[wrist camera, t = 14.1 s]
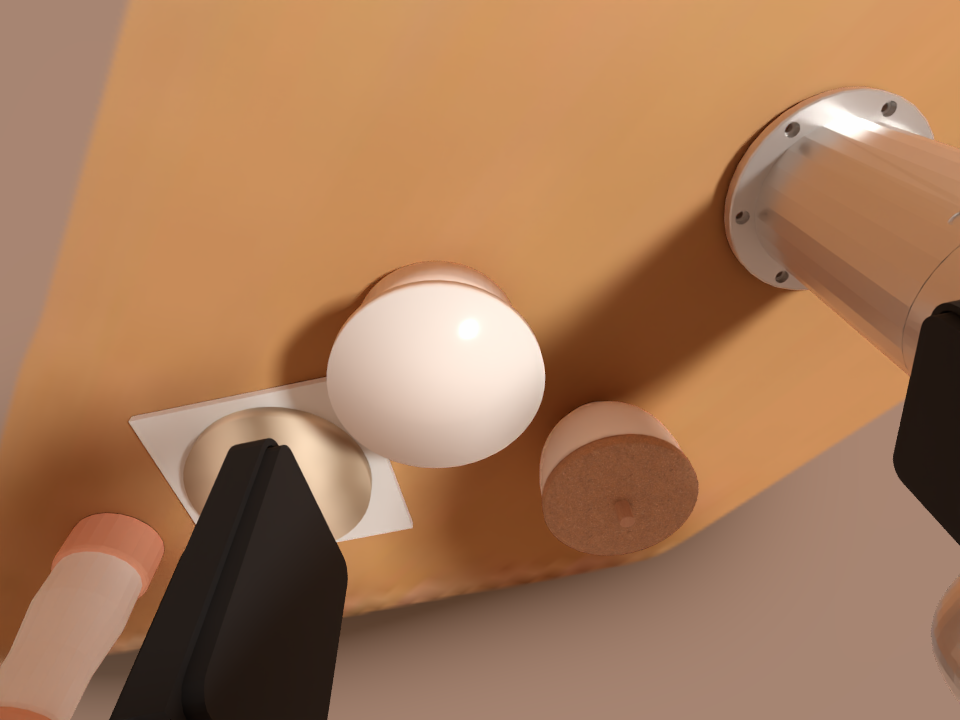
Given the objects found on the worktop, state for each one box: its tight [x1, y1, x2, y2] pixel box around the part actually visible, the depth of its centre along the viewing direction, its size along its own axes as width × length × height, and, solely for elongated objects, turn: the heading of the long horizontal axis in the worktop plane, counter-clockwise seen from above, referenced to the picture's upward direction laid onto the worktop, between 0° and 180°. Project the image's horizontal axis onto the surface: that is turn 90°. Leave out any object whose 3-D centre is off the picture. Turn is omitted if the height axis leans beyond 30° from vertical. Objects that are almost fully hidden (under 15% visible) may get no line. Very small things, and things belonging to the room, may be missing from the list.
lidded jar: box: [540, 401, 698, 555], centre depth 45 cm, size 11×11×9 cm
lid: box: [183, 407, 372, 541], centre depth 46 cm, size 14×14×6 cm
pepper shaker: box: [0, 513, 164, 720], centre depth 44 cm, size 7×7×19 cm
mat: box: [128, 377, 413, 542], centre depth 49 cm, size 17×16×1 cm
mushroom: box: [327, 261, 545, 468], centre depth 40 cm, size 13×13×7 cm
